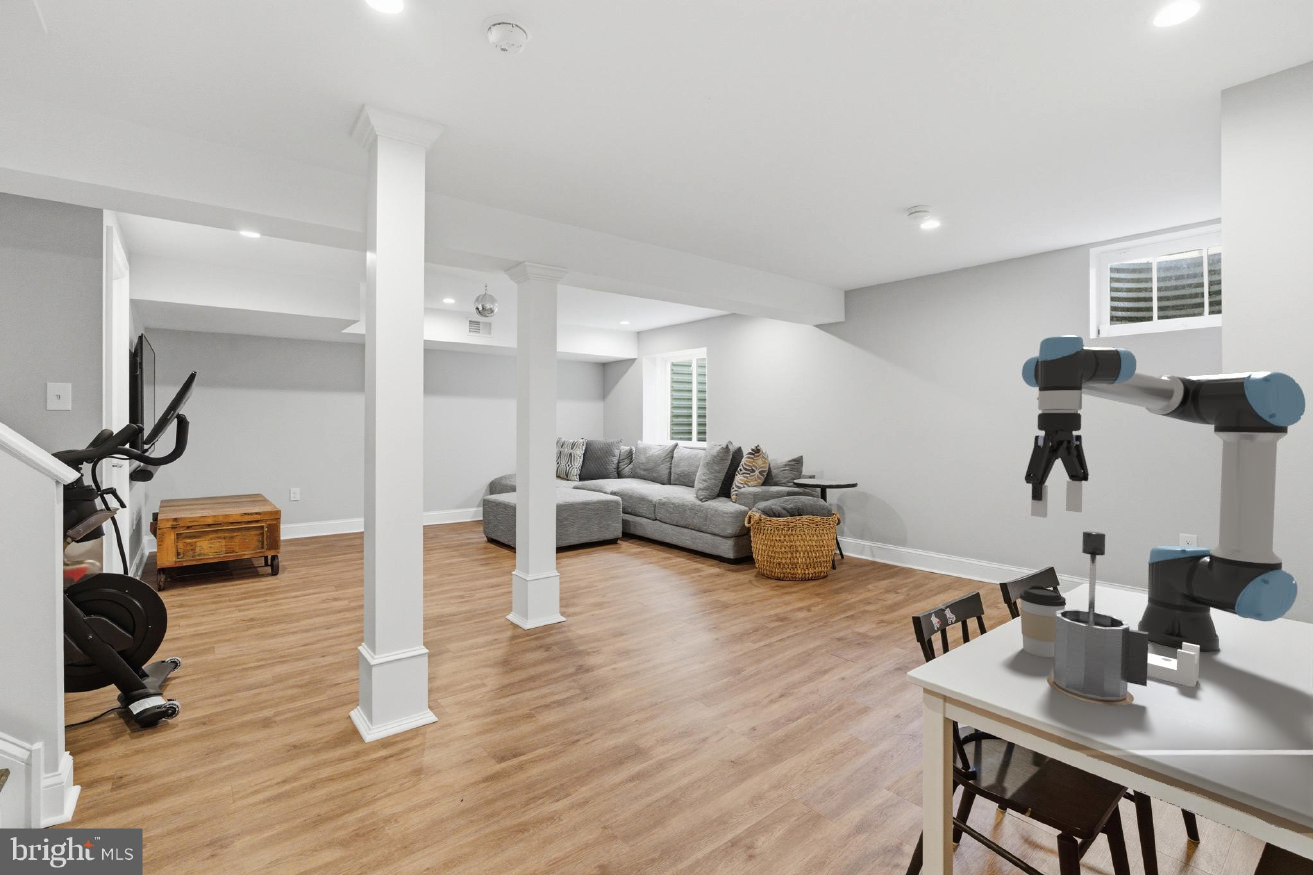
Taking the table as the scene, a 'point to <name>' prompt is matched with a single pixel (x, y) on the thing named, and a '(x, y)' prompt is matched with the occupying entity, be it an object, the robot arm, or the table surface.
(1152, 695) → the table surface
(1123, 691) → the grey hollow faceted piece
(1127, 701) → the trivet
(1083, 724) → the table surface
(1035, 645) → the coffee cup
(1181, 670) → the bracket
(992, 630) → the table surface
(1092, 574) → the plunger
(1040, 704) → the table surface
